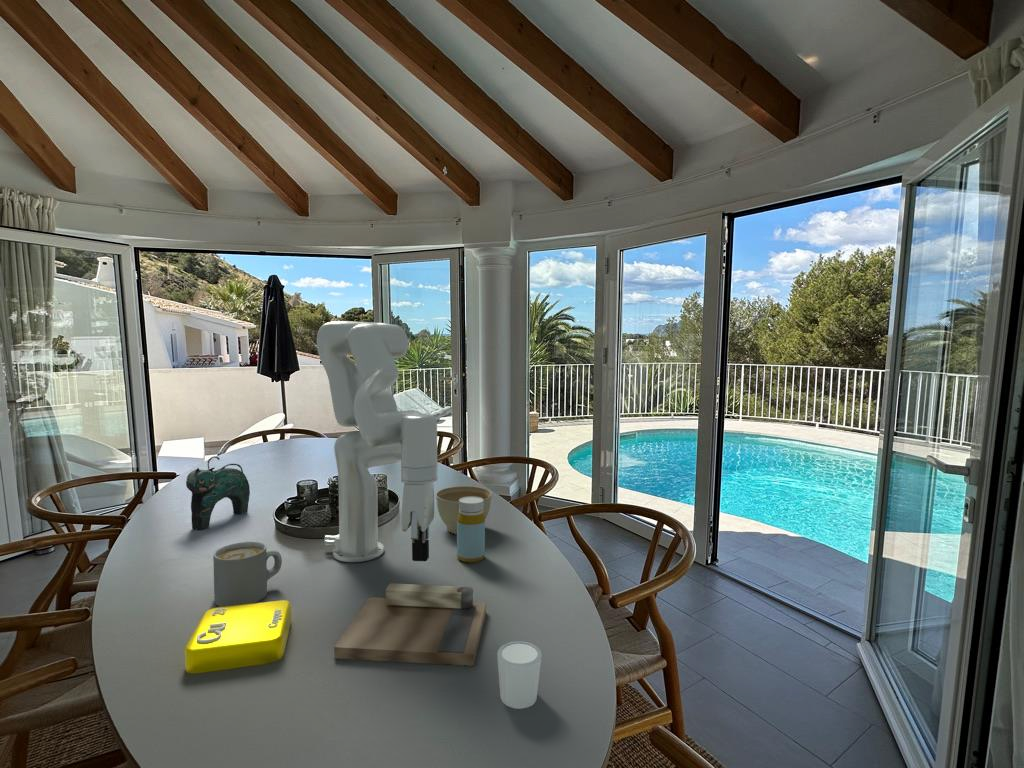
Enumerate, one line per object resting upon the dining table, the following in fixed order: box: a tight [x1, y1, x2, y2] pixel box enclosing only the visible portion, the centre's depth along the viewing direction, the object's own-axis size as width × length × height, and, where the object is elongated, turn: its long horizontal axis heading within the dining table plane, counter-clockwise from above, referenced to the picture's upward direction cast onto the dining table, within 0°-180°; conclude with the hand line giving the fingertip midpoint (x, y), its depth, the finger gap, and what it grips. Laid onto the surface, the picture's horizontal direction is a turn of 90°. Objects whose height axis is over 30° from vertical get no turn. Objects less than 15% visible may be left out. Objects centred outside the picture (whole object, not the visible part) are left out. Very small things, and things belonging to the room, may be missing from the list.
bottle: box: [456, 496, 486, 564], centre depth 134 cm, size 7×7×15 cm
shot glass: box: [496, 640, 543, 710], centre depth 81 cm, size 7×7×7 cm
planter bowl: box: [435, 485, 493, 535], centre depth 154 cm, size 16×16×11 cm
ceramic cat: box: [185, 456, 251, 531], centre depth 159 cm, size 20×6×20 cm, turn 161°
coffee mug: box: [212, 541, 283, 607], centre depth 113 cm, size 13×10×10 cm
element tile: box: [184, 599, 292, 675], centre depth 95 cm, size 15×15×5 cm
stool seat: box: [333, 597, 487, 667], centre depth 99 cm, size 24×18×2 cm
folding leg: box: [385, 582, 474, 609], centre depth 106 cm, size 17×3×3 cm, turn 86°
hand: (420, 559), depth 112 cm, fingers closed
